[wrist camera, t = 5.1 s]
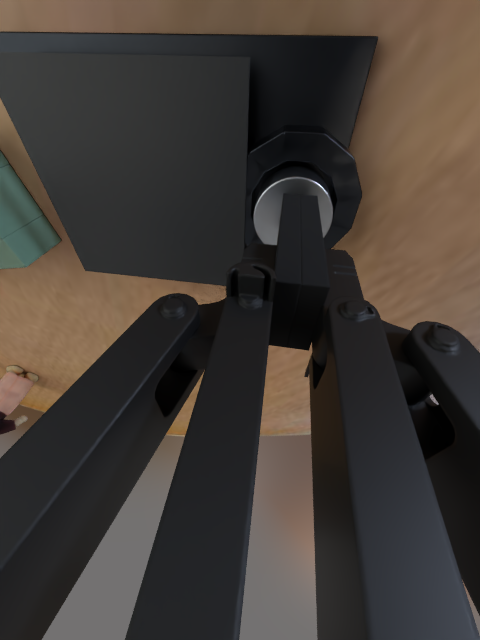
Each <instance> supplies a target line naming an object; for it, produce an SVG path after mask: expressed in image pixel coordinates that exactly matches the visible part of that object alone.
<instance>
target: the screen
mask: <svg viewBox="0 0 480 640" xmlns="http://www.w3.org/2000/svg"><path fill="white" fill-rule="evenodd" d="M249 78H250V57H222V56H175V55H127V54H79V53H31V52H0V98H1V100H2V102H3V104H4V106H5V108H6V110H7V112H8V114H9V116H10V118H11V120H12V122H13V124H14V126H15V128H16V130H17V132H18V134H19V136H20V138H21V140H22V142H23V144H24V147H25V149H26V151H27V153H28V155H29V157H30V159H31V161H32V163H33V165H34V167H35V169H36V171H37V173H38V175H39V177H40V179H41V181H42V183H43V185H44V187H45V189H46V191H47V193H48V195H49V198H50V200H51V202H52V204H53V206H54V208H55V210H56V212H57V214H58V216H59V218H60V220H61V222H62V224H63V226H64V228H65V230H66V232H67V234H68V236H69V238H70V240H71V242H72V244H73V246H74V249H75V251H76V253H77V255H78V257H79V259H80V261H81V263H82V265H83V267H84V269H85V271H93V272H102V273H111V274H121V275H130V276H139V277H148V278H158V279H167V280H176V281H185V282H195V283H204V284H213V285H222V286H226V272H227V271H228V269H229V268H230V267H232V266H233V265H235V264H237V263H241V260H242V256H243V253H244V240H245V208H246V175H247V143H248V110H249Z"/></svg>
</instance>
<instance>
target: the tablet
mask: <svg viewBox="0 0 480 640" xmlns="http://www.w3.org/2000/svg"><path fill="white" fill-rule="evenodd" d="M377 40H378V37H377V36H321V35H240V34H159V33H79V32H0V52H31V53H79V54H127V55H175V56H222V57H250V78H249V110H248V143H247V175H246V208H245V240H244V249H245V248H246V247H248V246H249V245H250V244H251V243H259V244H264V243H263V242H262V241H261V239H260V238H259V236H258V235H257V233H256V230H255V227H254V221H253V215H254V209H255V205H256V202H257V198H258V194H259V192H260V189H261V188H262V186H263V184H264V183H265V181H266V180H267V179H268V178H269V177H270V176H271V175H273V174H274V173H275V172H277V171H279V170H281V169H283V168H286V167H291V166H302V167H306V168H309V169H311V170H313V171H315V172H316V173H318V174H319V175H320V176H321V177H322V178H323V180H324V181H325V183H326V185H327V187H328V190H329V194H330V197H331V201H332V206H333V218H332V223H331V226H330V228H329V230H328V232H327V234H326V235H325V236H324V238H323V240H324V247H325V249H331V248H332V247H333V246H334V245H335V244H336V243H337V242H338V241H339V240H340V239H341V238H342V237H343V236H344V235H345V234H346V233H347V232H348V231H349V230H350V229H351V227H352V224H353V222H354V219H355V216H356V213H357V210H358V207H359V204H360V201H361V198H362V190H361V186H360V181H359V177H358V172H357V168H356V163H355V159H354V157H353V156H352V154H351V152H350V151H349V145H350V141H351V137H352V134H353V130H354V126H355V122H356V119H357V115H358V111H359V108H360V104H361V100H362V96H363V93H364V89H365V85H366V81H367V78H368V74H369V70H370V67H371V63H372V59H373V55H374V52H375V48H376V44H377Z"/></svg>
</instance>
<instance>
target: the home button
mask: <svg viewBox="0 0 480 640" xmlns="http://www.w3.org/2000/svg"><path fill="white" fill-rule="evenodd" d="M283 193H288V194H301V195H315V196H318V204H319V211H320V218H321V225H322V232H323V238H324V236H325V235H326V234H327V232H328V230H329V228H330V226H331V223H332V218H333V206H332V201H331V197H330V194H329V190H328V187H327V185H326V183H325V181H324V180H323V178H322V177H321V176H320V175H319V174H318V173H316V172H315V171H313V170H311V169H309V168H306V167H302V166H291V167H286V168H283V169H281V170H279V171H277V172H275V173H274V174H273V175H271V176H270V177H269V178H268V179H267V180H266V181H265V183H264V184H263V186H262V188H261V189H260V192H259V194H258V198H257V202H256V205H255V209H254V215H253V221H254V227H255V230H256V233H257V235H258V236H259V238H260V239H261V241H262V242H263V243H264V244H270V245H277V239H278V231H279V223H280V216H281V208H282V200H283Z"/></svg>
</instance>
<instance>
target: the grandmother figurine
mask: <svg viewBox="0 0 480 640" xmlns="http://www.w3.org/2000/svg"><path fill="white" fill-rule="evenodd" d="M6 371H7V373H6V374H5V375H4V376H3V378H2V379H1V380H0V434H4V433H7V432H9V431H12V430H15V429H16V427H17V426H19V425H20V424H21V423H23V422H25V421H26V420H27V416H26V415H22V416H20V417H19V418H18V419H15V420H4V418H5V417H6V416H8V415H9V414H10V413H11V412H12V411H13V410H14V408H16V407H17V405H18V404H19V403H20V402H21V401H22V399H23V398H24V397H25V396H26V394H27V393H28V391H29V390H30V388H31V387H32V386H33V384H34V383H35V382H37V381H38V376H37V375H35V374H33V373H26V374H25V375H24V378H23V377H20V376H18V375H19V374H21V373H22V372H23V371H24V370H23V369H21V368H20V367H18V366H8V367H7V369H6Z"/></svg>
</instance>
